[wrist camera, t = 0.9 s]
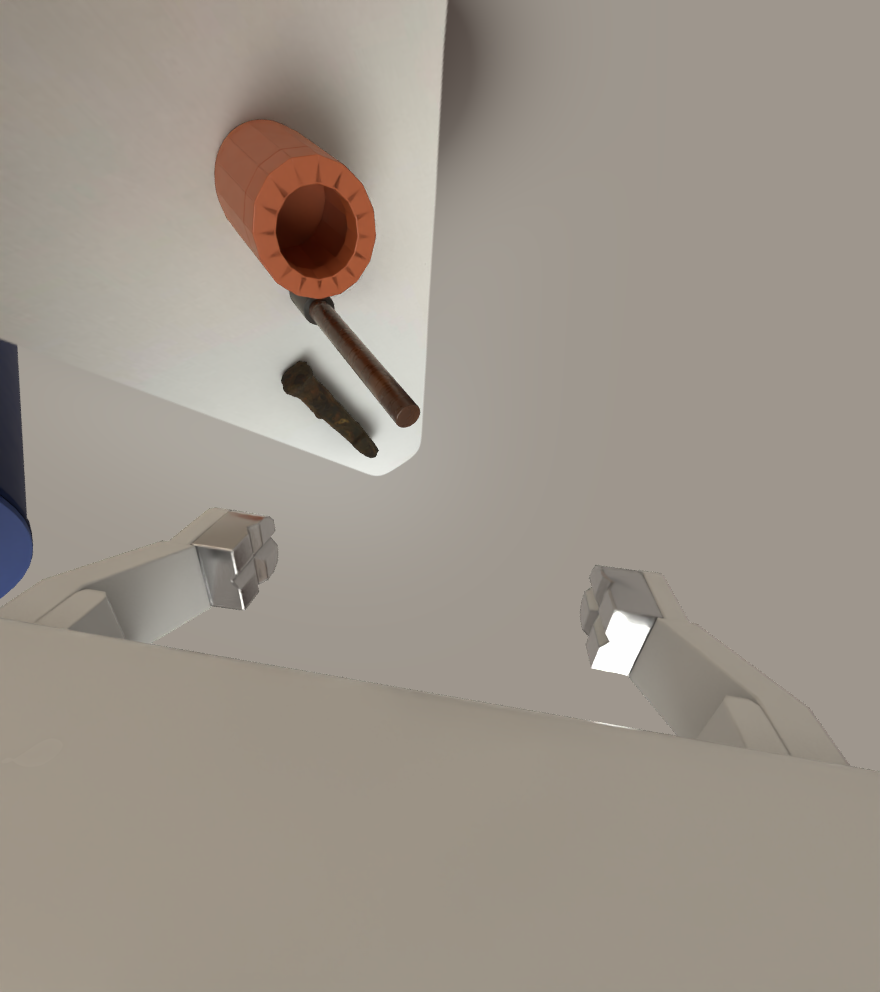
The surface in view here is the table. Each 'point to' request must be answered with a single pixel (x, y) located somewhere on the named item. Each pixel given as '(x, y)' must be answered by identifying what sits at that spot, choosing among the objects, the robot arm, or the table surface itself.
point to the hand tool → (326, 407)
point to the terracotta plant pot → (295, 208)
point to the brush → (360, 359)
